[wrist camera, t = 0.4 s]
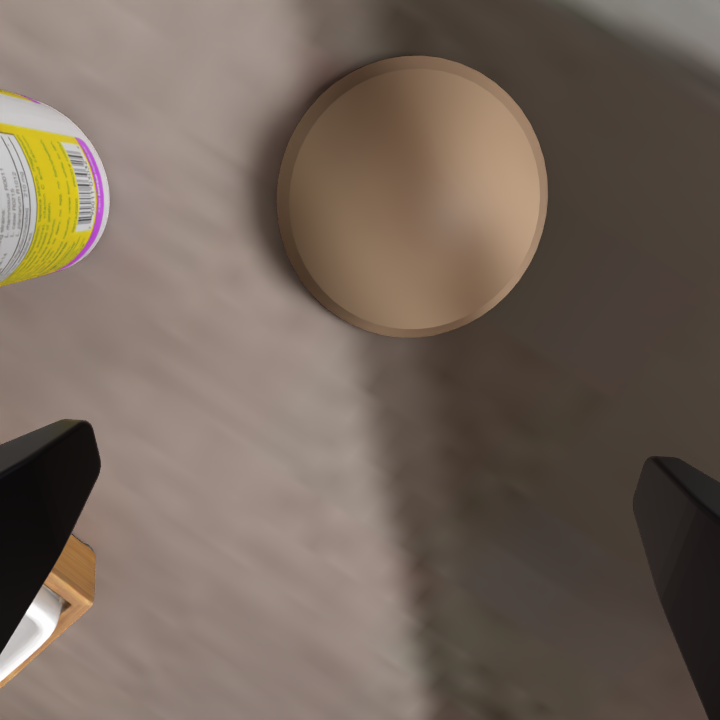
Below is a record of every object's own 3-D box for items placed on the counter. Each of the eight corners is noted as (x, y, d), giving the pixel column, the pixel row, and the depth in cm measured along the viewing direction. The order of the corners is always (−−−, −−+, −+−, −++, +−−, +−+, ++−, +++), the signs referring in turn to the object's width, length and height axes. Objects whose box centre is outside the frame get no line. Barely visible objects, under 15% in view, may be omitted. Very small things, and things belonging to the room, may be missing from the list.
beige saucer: (374, 379, 23) (374, 395, 22) (225, 170, 21) (211, 168, 19) (590, 241, 22) (611, 246, 20) (453, -5, 19) (462, -27, 17)
